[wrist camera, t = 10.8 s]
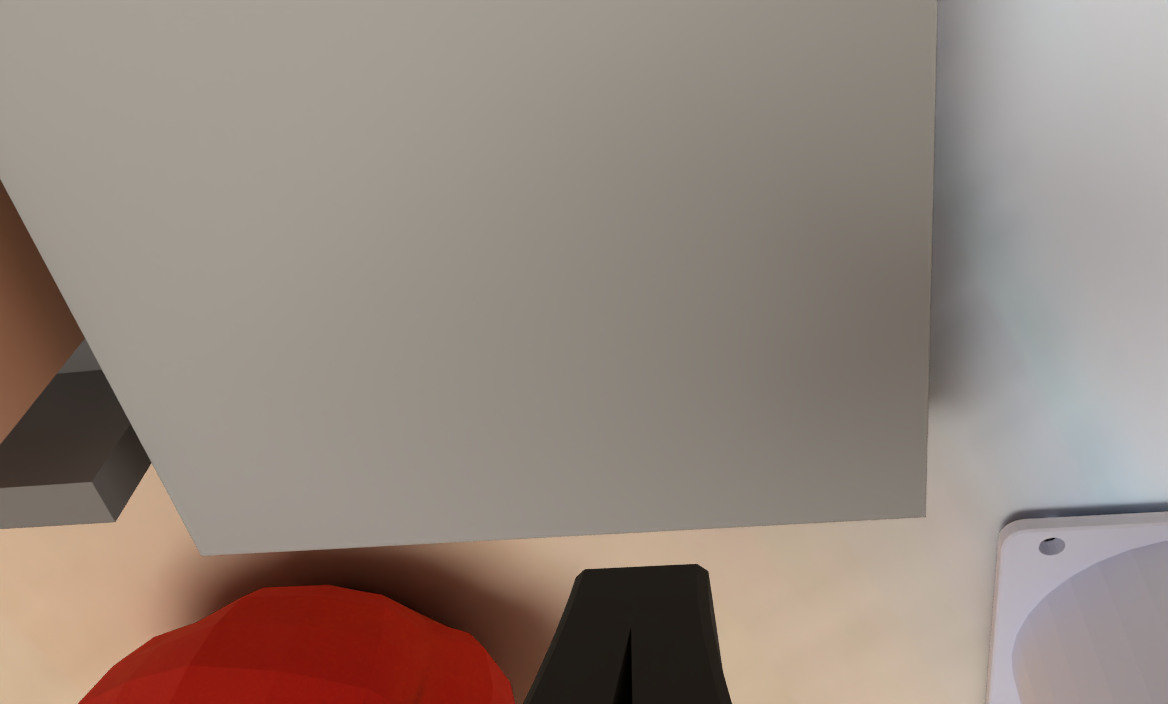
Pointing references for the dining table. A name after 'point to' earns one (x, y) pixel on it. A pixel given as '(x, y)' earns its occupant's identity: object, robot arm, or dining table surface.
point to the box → (70, 453)
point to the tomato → (308, 656)
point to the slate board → (491, 256)
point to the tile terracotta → (28, 320)
